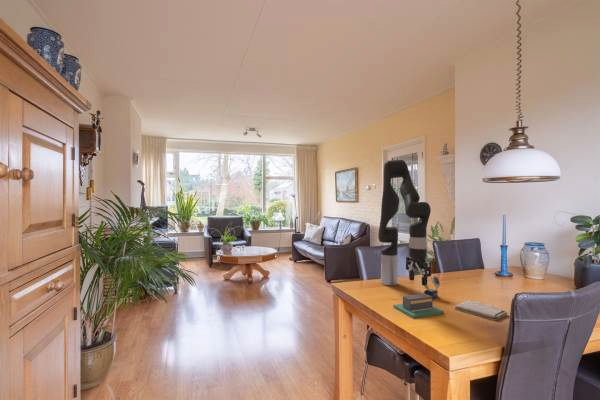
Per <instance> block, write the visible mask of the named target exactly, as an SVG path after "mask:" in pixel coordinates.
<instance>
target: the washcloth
mask: <svg viewBox="0 0 600 400" xmlns="http://www.w3.org/2000/svg"><path fill="white" fill-rule="evenodd" d="M454 310H456V311H460V312H464V313H467V314H469V315H470V314H471V315H472V316H473V315H474V316H477V317H479V318H483V317H484V319H487V320H490V321H494V322H495V321H498V319H499V320H500V318H501V319H502V318H504V317H506V316H507V315H508V311H506V310H505V309H503V308H499V307H497V306H495V305H493V304H486V303H483V302H479V301H475V300H469V299H468V300H465V301H463V302H462V303H459V304H456V305H455V306H454Z"/></svg>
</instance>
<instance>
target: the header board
mask: <svg viewBox="0 0 600 400" xmlns="http://www.w3.org/2000/svg"><path fill="white" fill-rule="evenodd" d="M392 307H393V308H394V309H395V310H396V311H399V312H401V313H402V314H404V315H407V316H408V317H409V318H411V319H418V318H425V317H426V318H427V317H430V316H438V315H444V314H445V311H444V310H442V309H440V308H438V307H436V306H434V305H433V308H428V309H421V310H414V311H409V310H407V309H405V308H403V303H399V304H398V303H397V304H393V306H392Z"/></svg>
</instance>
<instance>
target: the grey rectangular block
mask: <svg viewBox="0 0 600 400" xmlns="http://www.w3.org/2000/svg"><path fill="white" fill-rule="evenodd" d="M433 303H434V302H433V297H432V296H430V295H427V294H424V293H418V294H411V295H408V294H407V295H402V304H403V308H405V309H407V310H409V311H414V310H421V309H428V308H433V306H434V304H433Z"/></svg>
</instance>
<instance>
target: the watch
mask: <svg viewBox="0 0 600 400" xmlns="http://www.w3.org/2000/svg"><path fill="white" fill-rule="evenodd" d="M430 278H431V282H432V284H433V286H435V289H433V288H429V286H428V284H427V285H426V286H424V289H426V290H424V291H423V294H427V295H430V296H432V297H433V299H435V298H437V297H438V296H439V295H438V293H439V291H438V289H439V288H440V285H441V283H440V282H441V281H440V279H439V278H438V277H437V276H435V275H434V274H431V276H430Z"/></svg>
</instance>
